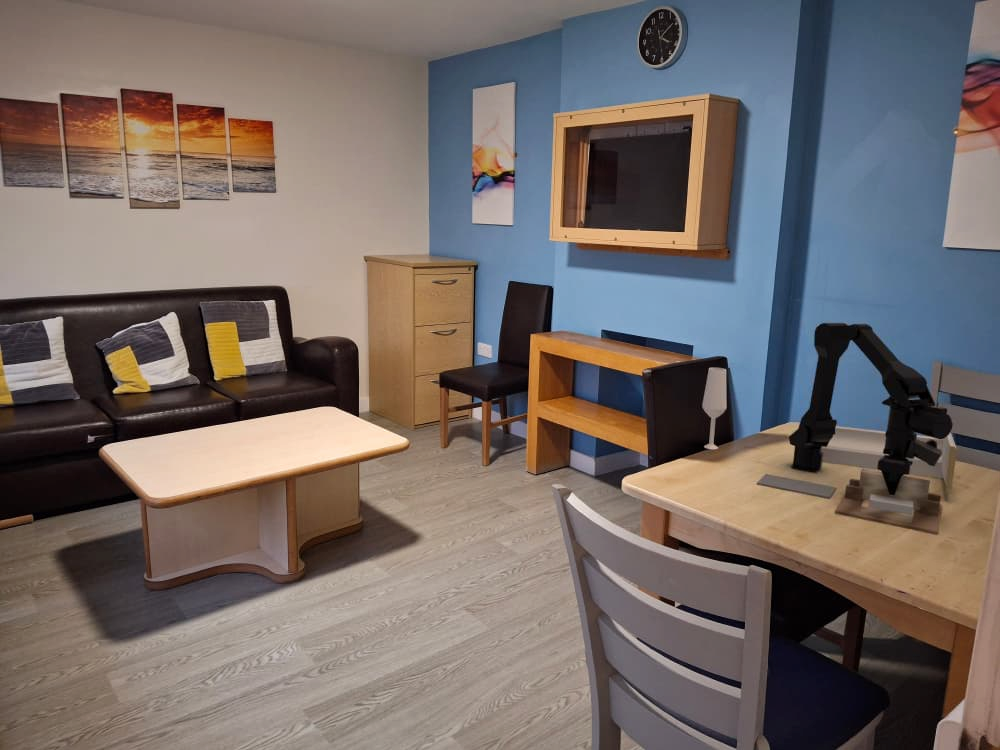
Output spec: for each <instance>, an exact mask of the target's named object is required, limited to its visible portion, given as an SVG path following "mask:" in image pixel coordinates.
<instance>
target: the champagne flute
mask: <svg viewBox="0 0 1000 750" xmlns="http://www.w3.org/2000/svg"><path fill="white" fill-rule="evenodd" d="M705 383H706V384H705V389H704V395H703V399H702V405H701V406H702V409H703V411H704V412H705V413H706V414H707V415H708V417H709V418H711V419H710V428H709V429H710V431H709V440H708V441H709V443H707V444H705V445H704V446H703V447H704V448H705V449H709V450H717V449H719V447H718V446H717V445H716V444H714V443H715V442H714V439H715V429H716V428H715V427H716V419H717V418H719V417H720V416H721V415H723V414H724V413H725V412H726V410H727V369H726V368H722V367H709V368H708V373H707V378H706V382H705Z"/></svg>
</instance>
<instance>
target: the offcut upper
mask: <svg viewBox="0 0 1000 750" xmlns="http://www.w3.org/2000/svg"><path fill="white" fill-rule="evenodd" d="M869 508H875V509H880V510H886V511H892V512H897V513H903V514H908V515H912V511H913V501H909V500H903V499H897V498H891V497H886V496H880V495H874V494H870V500H869Z"/></svg>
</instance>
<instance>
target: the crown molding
mask: <svg viewBox="0 0 1000 750" xmlns="http://www.w3.org/2000/svg"><path fill="white" fill-rule="evenodd" d="M885 433H886V431H884V430H882V431H881V430H876V429H875V430H873V429H868V428H867V429H865V428H856V427H848V426H847V427H846V426H839V425H836V428H835V435H833V437H832V439H831V440H830V441H829V444H828V446H827V447H822V450H821V452H823V462H822V463H829V464H836V465H843V466H851V467H858V468H863V469H870V470H878V469H877V467H878V461H879V459H880V458H881V457H882V456H884V455H888V454H883V449H884V448H885V440H886V436H885ZM916 439H918V440H920V441H924V442H927V441H928V440H930V439H932V440H934V441H936V442H937V448H938V449H941V451H942V449H943V441H944V439H936V438H933V437H930V436H926V435H921V434H920V435H919V434H917V438H916ZM907 459H908V460H909V461H912V462H913V463H912V465H911V467H910V472H909V475H911V474H914V475H913V476H918V475H921V476H920V477H926V476H930V477H929V478H933V477H940V478H944V477H943V473H942V469H941V465H942V455H941V457H940V458H939V460H938V461H937V463H936V465H935V466H930V465H928V464H927V463H926V462H924V461H922V460H920V459H918V458H916V457H915V458H914V459H910V458H907ZM940 478H939V479H940Z"/></svg>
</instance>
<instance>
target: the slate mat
mask: <svg viewBox="0 0 1000 750" xmlns="http://www.w3.org/2000/svg"><path fill="white" fill-rule="evenodd" d="M756 485H757V486H758V485H759V486H762V487H763V486H764V487H768V488H774V489H779V490H783V491H788V492H793V493H799V494H803V495H804V494H805V495H809V496H814V497H818V498H823V499H828V500H830V499H831V498H832V496H833V495H834V493H835V492H836V490H837V487H836V486H832V485H826V484H820V483H816V482H812V481H805V480H801V479H794V478H790V477H784V476H778V475H774V474H768V473H765V474H764V475H763V476H762V477H761V478H760V479H759V480H758V481H757V482H756Z"/></svg>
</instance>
